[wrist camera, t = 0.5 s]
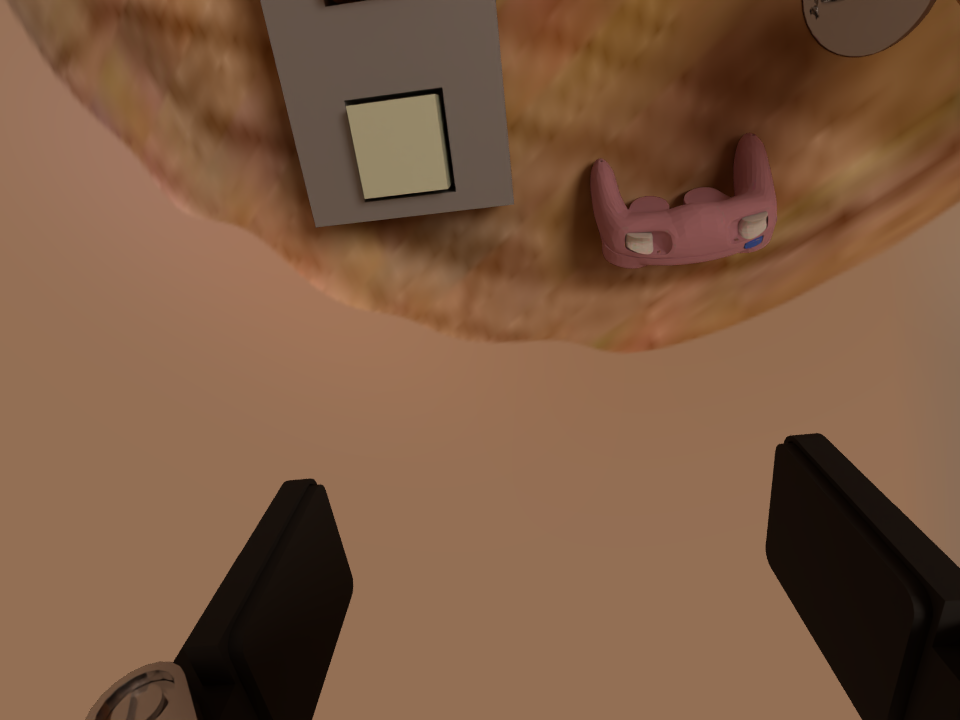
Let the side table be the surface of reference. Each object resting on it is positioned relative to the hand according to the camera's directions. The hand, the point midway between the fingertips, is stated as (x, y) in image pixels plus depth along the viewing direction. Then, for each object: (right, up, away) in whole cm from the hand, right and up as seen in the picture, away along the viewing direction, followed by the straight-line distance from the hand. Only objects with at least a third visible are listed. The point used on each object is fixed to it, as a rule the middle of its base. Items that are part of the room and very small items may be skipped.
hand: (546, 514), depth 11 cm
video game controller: (+10, +13, +22) cm, 27 cm away
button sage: (-5, +15, +18) cm, 24 cm away
